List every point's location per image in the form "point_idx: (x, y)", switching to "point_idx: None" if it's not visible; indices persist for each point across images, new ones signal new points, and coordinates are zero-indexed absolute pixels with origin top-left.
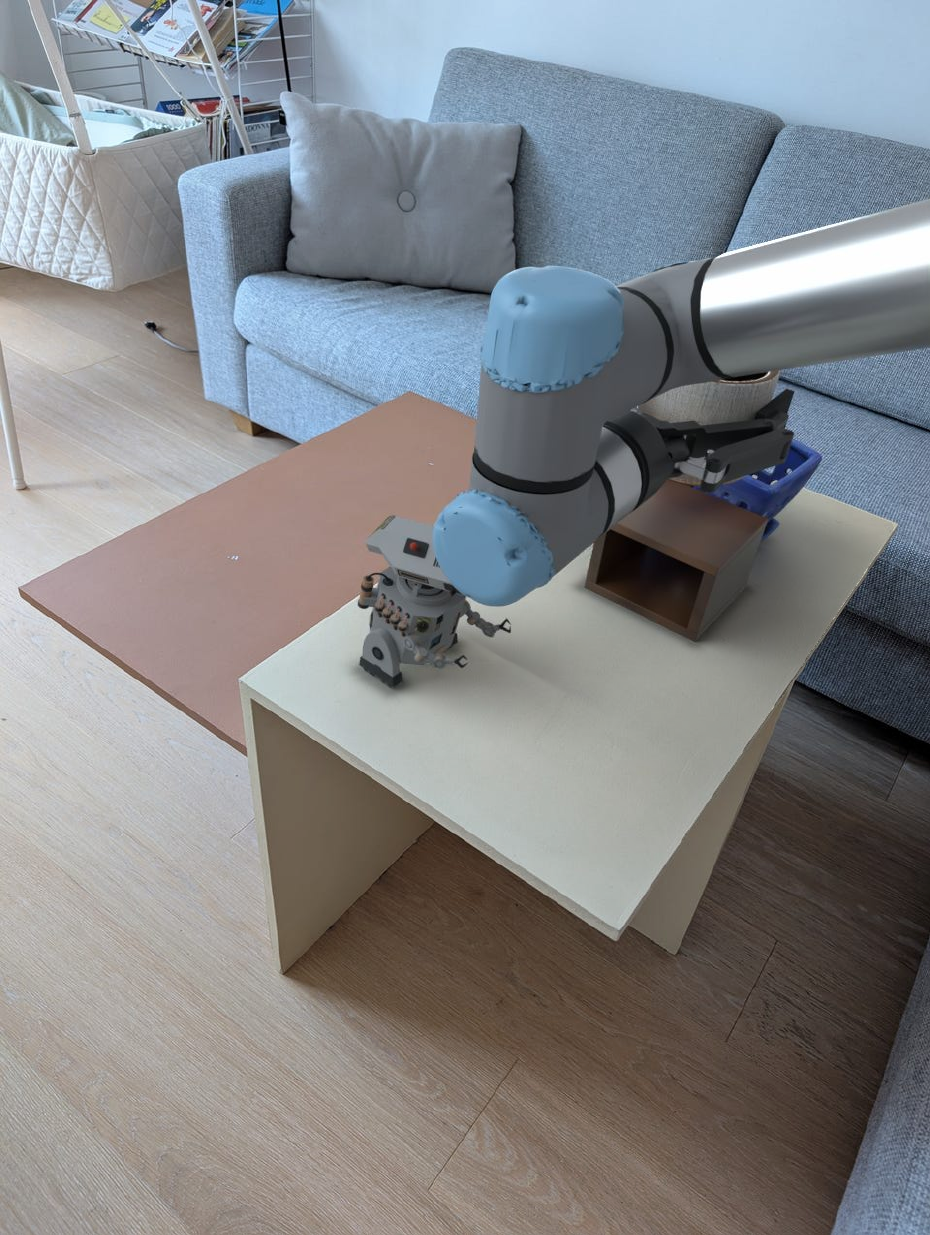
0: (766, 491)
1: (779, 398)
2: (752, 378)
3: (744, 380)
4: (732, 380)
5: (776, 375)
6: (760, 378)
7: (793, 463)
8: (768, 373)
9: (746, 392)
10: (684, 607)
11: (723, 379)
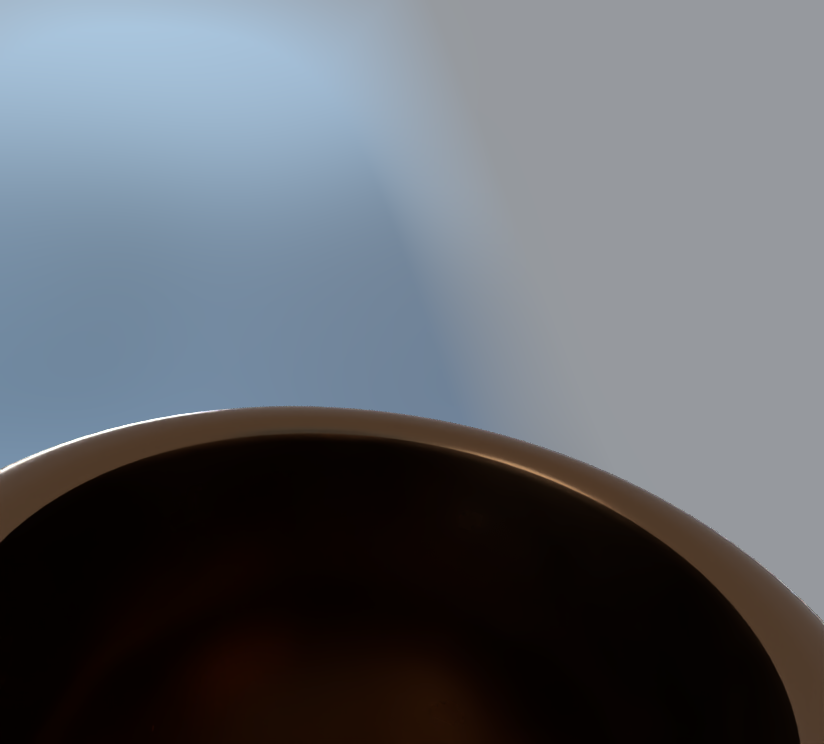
0: None
1: None
2: (513, 572)
3: (465, 581)
4: (402, 585)
5: (796, 596)
6: (812, 679)
7: None
8: (745, 593)
9: None
10: None
11: (358, 587)
